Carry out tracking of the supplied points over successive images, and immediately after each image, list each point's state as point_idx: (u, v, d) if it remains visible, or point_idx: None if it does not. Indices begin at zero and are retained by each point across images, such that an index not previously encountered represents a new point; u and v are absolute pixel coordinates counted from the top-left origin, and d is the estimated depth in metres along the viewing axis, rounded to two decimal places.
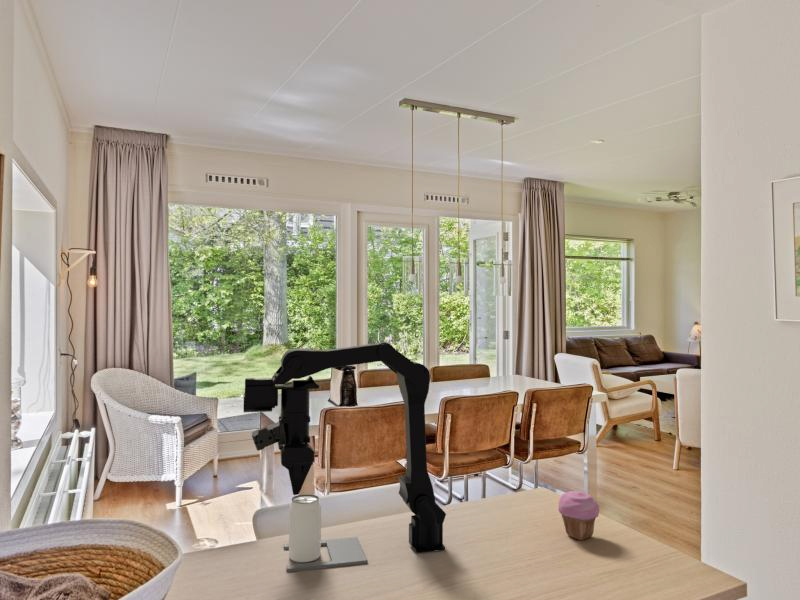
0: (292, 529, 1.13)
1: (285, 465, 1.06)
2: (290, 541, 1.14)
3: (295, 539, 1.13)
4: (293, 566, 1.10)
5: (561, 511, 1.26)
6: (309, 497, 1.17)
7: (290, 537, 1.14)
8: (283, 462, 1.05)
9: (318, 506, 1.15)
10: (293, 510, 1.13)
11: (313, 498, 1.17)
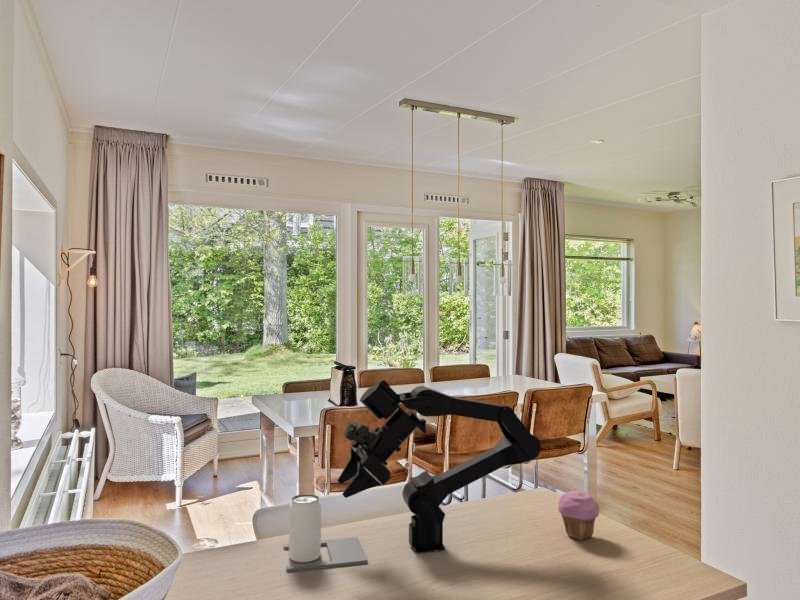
0: (292, 529, 1.13)
1: (362, 468, 1.11)
2: (290, 541, 1.14)
3: (295, 539, 1.13)
4: (293, 566, 1.10)
5: (561, 511, 1.26)
6: (309, 497, 1.17)
7: (290, 537, 1.14)
8: (364, 464, 1.09)
9: (318, 506, 1.15)
10: (293, 510, 1.13)
11: (313, 498, 1.17)
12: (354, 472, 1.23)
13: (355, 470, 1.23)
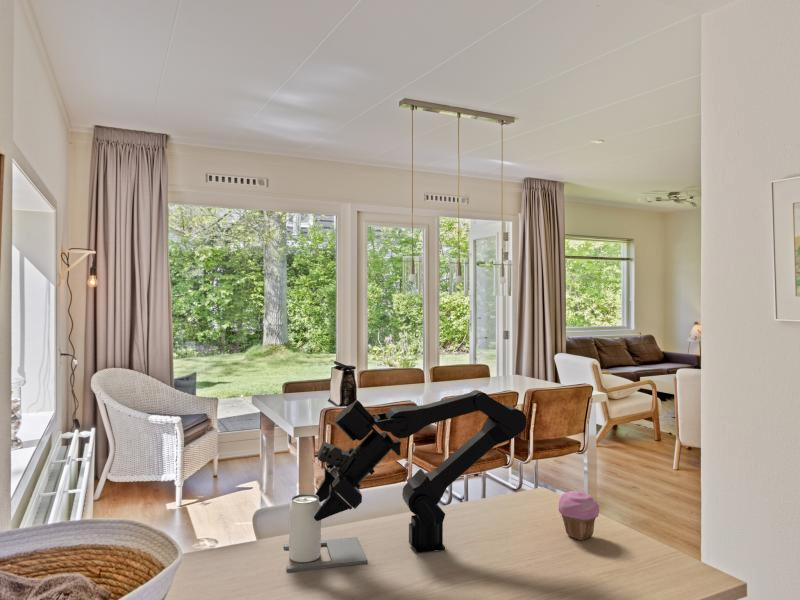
0: (292, 529, 1.13)
1: (333, 491, 1.09)
2: (290, 541, 1.14)
3: (295, 539, 1.13)
4: (293, 566, 1.10)
5: (561, 511, 1.26)
6: (309, 497, 1.17)
7: (290, 537, 1.14)
8: (335, 488, 1.08)
9: (318, 506, 1.15)
10: (293, 510, 1.13)
11: (313, 498, 1.17)
12: (328, 493, 1.22)
13: (329, 491, 1.22)
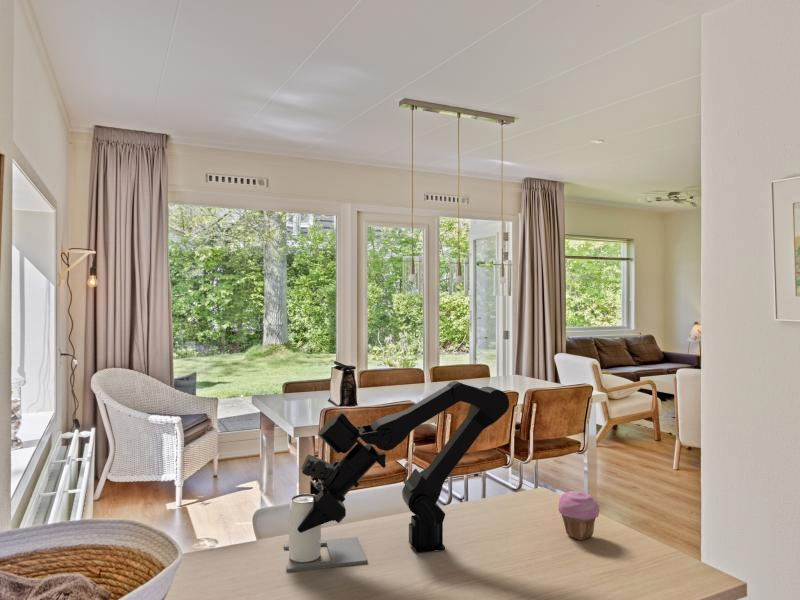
0: (292, 529, 1.13)
1: (316, 503, 1.10)
2: (290, 541, 1.14)
3: (295, 539, 1.13)
4: (293, 566, 1.10)
5: (561, 511, 1.26)
6: (309, 497, 1.17)
7: (290, 537, 1.14)
8: (319, 503, 1.07)
9: None
10: (293, 510, 1.13)
11: None
12: None
13: None
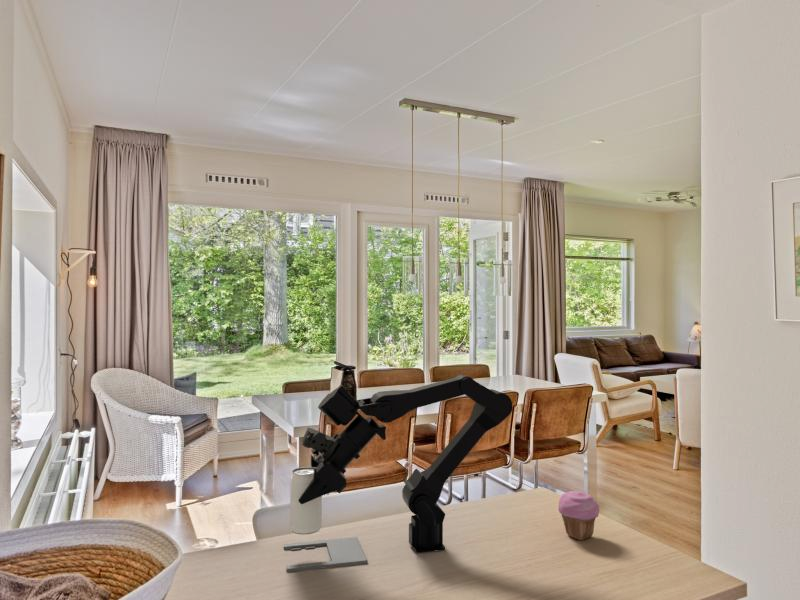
0: (293, 501, 1.14)
1: (316, 474, 1.10)
2: (291, 513, 1.14)
3: (296, 511, 1.13)
4: (293, 566, 1.10)
5: (561, 511, 1.26)
6: (310, 470, 1.18)
7: (291, 509, 1.14)
8: (319, 473, 1.08)
9: None
10: (294, 482, 1.14)
11: None
12: None
13: None
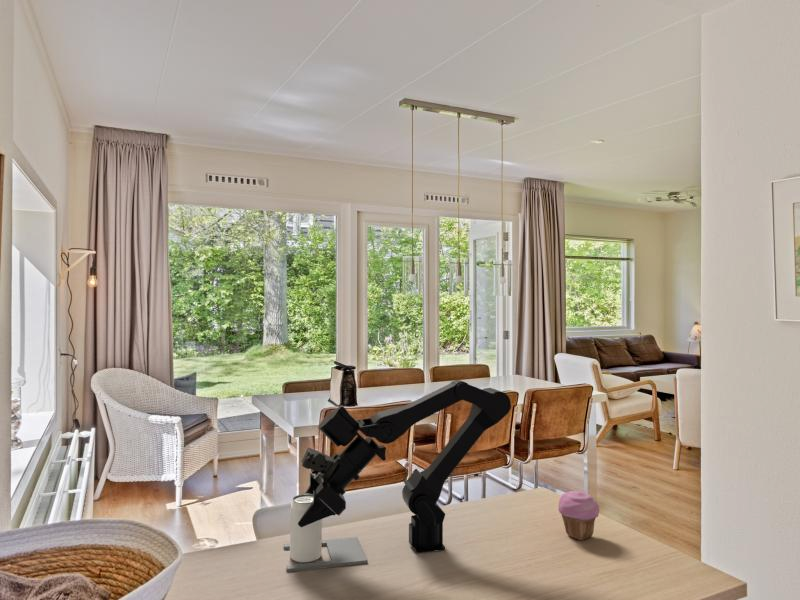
0: (294, 529, 1.13)
1: (316, 497, 1.09)
2: (291, 541, 1.14)
3: (297, 539, 1.13)
4: (293, 566, 1.10)
5: (561, 511, 1.26)
6: (310, 497, 1.17)
7: (291, 537, 1.14)
8: (319, 495, 1.07)
9: None
10: (295, 510, 1.13)
11: None
12: None
13: None
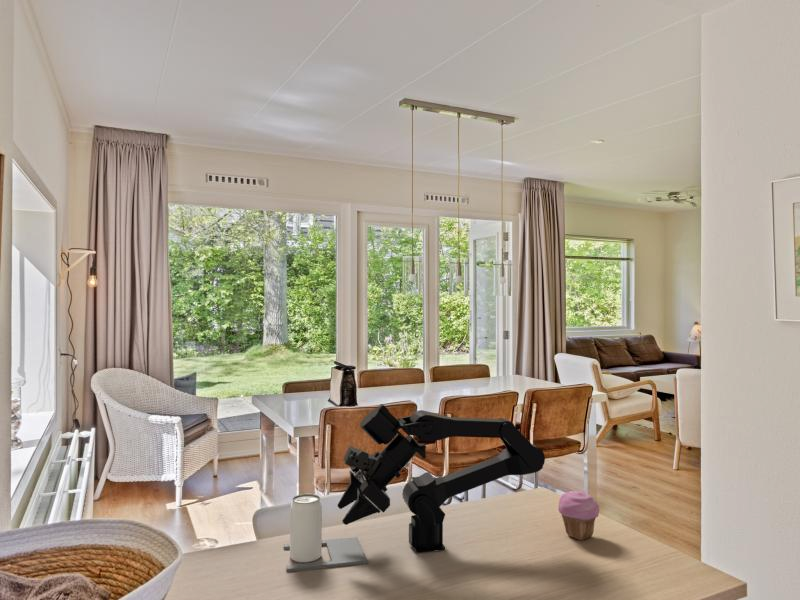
0: (294, 529, 1.13)
1: (361, 495, 1.10)
2: (291, 541, 1.14)
3: (297, 539, 1.13)
4: (293, 566, 1.10)
5: (561, 511, 1.26)
6: (310, 497, 1.17)
7: (291, 537, 1.14)
8: (364, 492, 1.09)
9: (319, 506, 1.15)
10: (295, 510, 1.13)
11: (314, 498, 1.17)
12: (354, 497, 1.23)
13: (355, 495, 1.23)
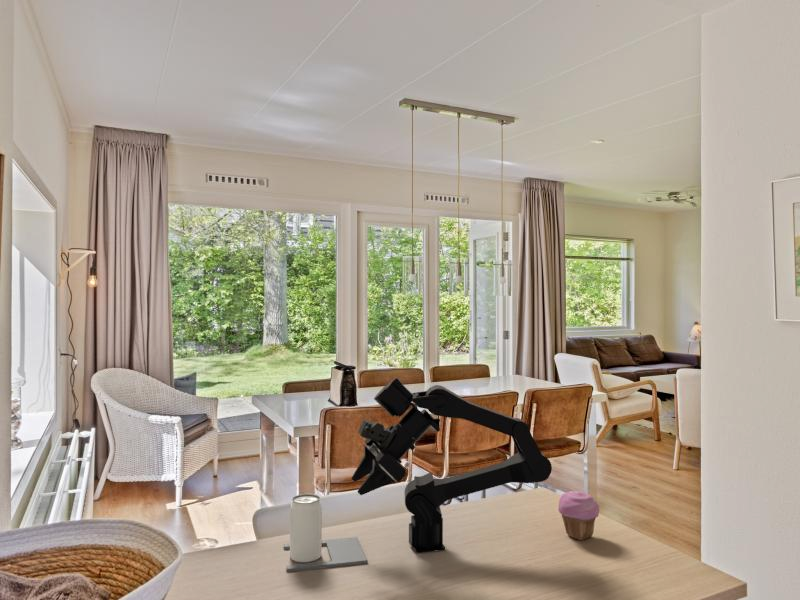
0: (294, 529, 1.13)
1: (377, 465, 1.12)
2: (291, 541, 1.14)
3: (296, 539, 1.13)
4: (293, 566, 1.10)
5: (561, 511, 1.26)
6: (309, 497, 1.17)
7: (291, 537, 1.14)
8: (380, 462, 1.11)
9: (319, 506, 1.15)
10: (294, 510, 1.13)
11: (314, 498, 1.17)
12: (368, 470, 1.24)
13: (369, 468, 1.24)
